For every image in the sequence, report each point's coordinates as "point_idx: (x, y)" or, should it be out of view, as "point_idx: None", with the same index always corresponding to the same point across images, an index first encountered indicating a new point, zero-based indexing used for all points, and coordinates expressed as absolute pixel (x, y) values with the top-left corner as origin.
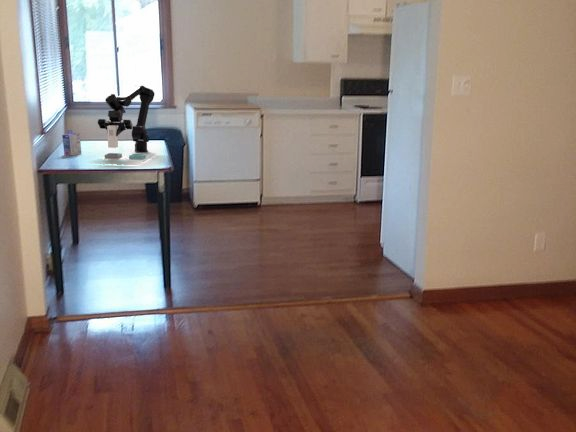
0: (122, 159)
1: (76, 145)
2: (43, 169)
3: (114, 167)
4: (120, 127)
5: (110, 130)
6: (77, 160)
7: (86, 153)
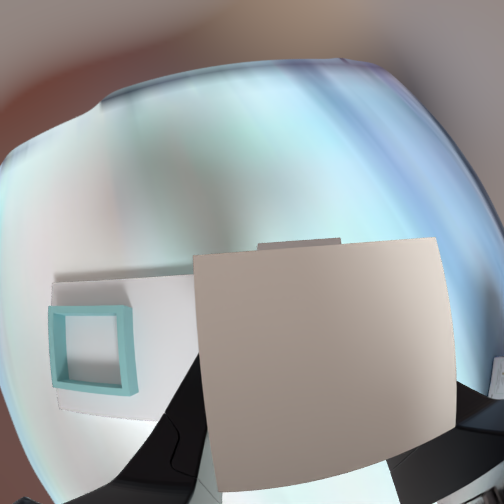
0: (168, 280)
1: None
2: (379, 68)
3: (160, 112)
4: (126, 467)
5: (306, 244)
6: None
7: None
